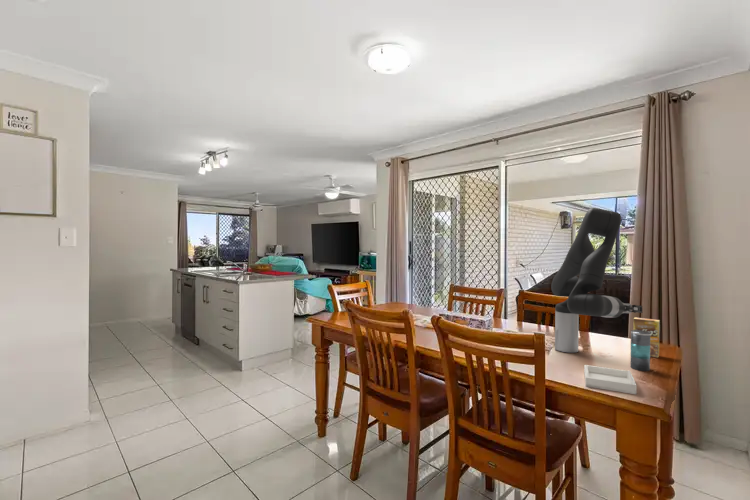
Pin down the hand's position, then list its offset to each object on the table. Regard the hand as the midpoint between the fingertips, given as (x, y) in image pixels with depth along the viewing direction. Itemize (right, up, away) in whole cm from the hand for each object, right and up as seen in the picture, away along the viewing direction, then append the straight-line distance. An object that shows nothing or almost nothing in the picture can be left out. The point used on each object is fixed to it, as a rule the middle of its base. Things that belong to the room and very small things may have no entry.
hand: (624, 308), depth 137 cm
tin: (+7, -23, +1) cm, 24 cm away
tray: (-14, -24, -12) cm, 30 cm away
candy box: (+21, -23, +17) cm, 36 cm away
